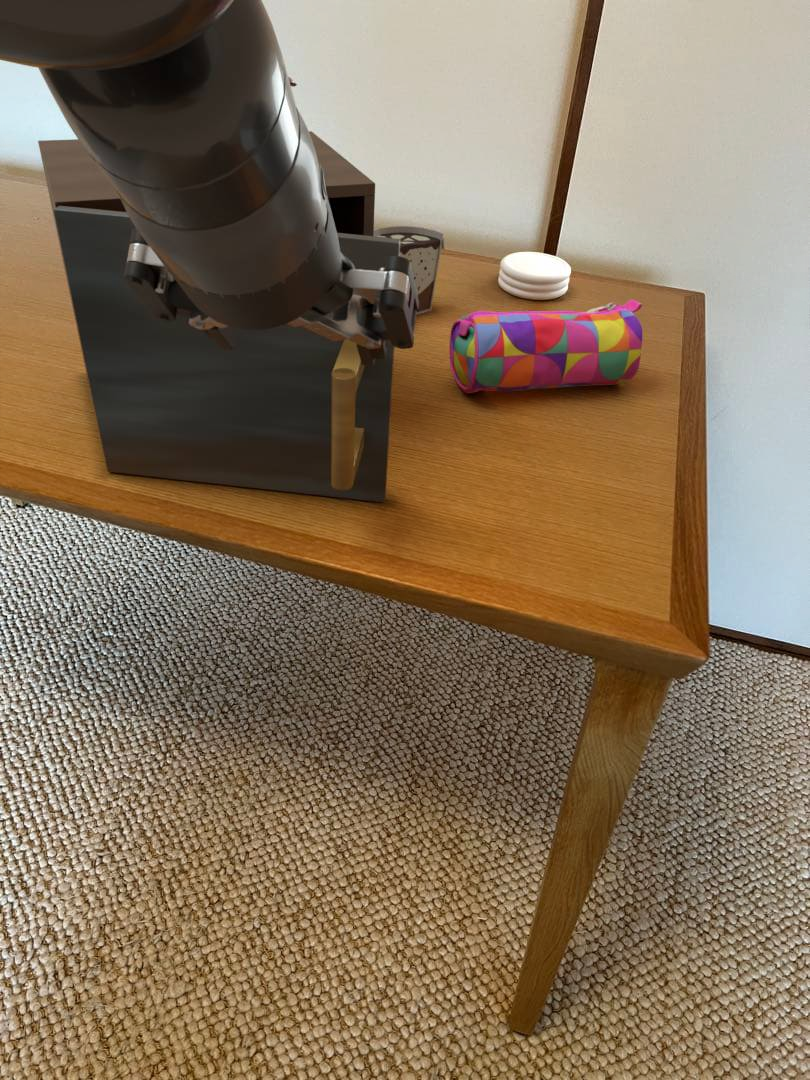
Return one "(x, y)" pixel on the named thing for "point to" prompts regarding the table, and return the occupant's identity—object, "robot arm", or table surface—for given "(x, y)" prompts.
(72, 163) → the cupboard
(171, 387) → the door
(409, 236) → the food container
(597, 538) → the table surface
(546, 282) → the white stacked discs
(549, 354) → the pencil case
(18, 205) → the table surface
